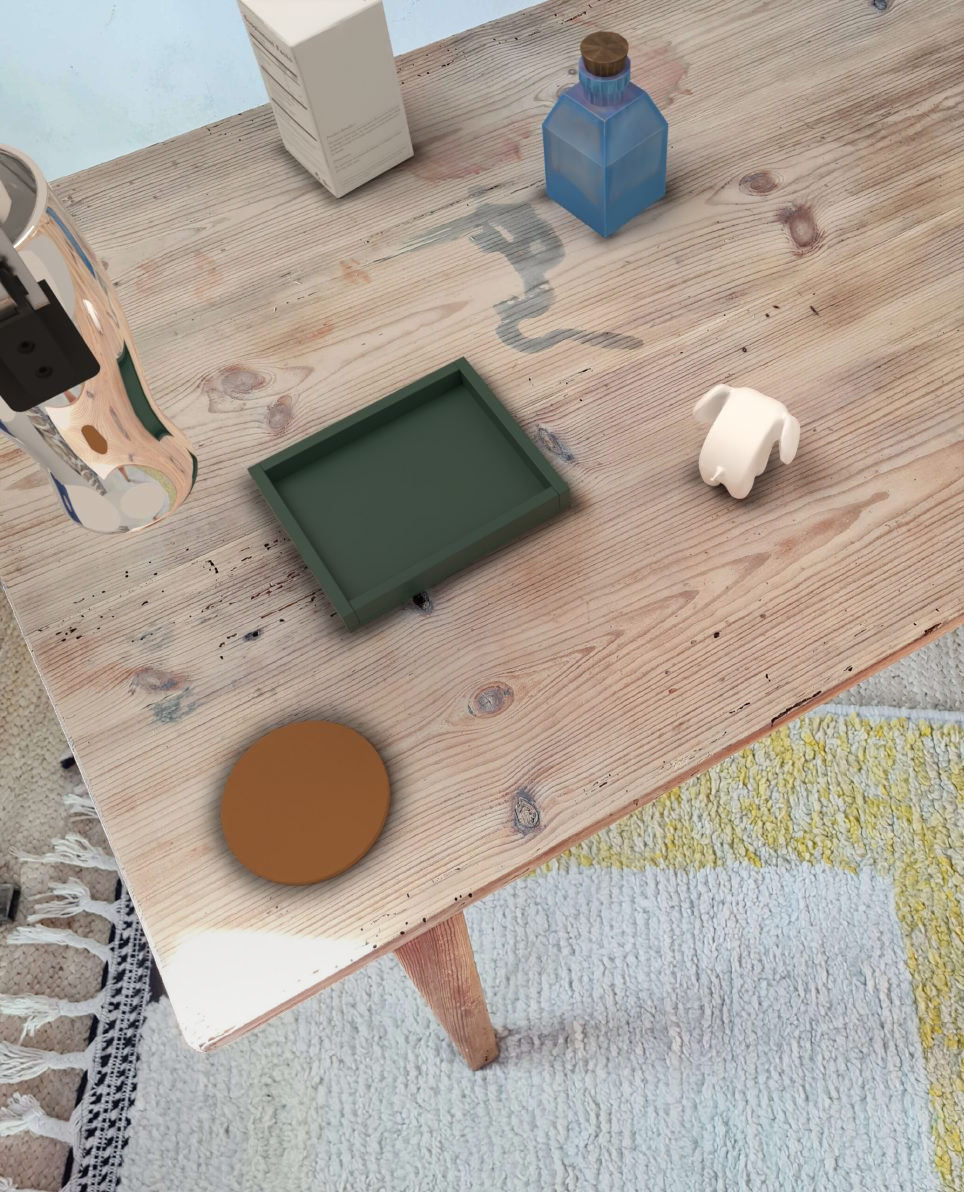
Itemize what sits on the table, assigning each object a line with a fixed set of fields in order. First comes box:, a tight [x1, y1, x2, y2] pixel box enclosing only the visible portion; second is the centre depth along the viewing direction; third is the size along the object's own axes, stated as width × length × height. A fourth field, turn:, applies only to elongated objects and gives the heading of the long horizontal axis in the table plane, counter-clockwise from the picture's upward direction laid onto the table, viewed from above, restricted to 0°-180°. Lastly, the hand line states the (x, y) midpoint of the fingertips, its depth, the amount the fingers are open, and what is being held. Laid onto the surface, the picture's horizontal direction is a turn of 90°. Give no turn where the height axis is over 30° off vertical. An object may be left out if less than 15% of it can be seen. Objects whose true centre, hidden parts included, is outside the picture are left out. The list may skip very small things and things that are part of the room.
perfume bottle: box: [541, 30, 669, 239], centre depth 75 cm, size 6×6×12 cm
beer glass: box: [0, 142, 199, 536], centre depth 41 cm, size 7×7×15 cm
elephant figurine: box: [691, 383, 801, 500], centre depth 66 cm, size 7×8×6 cm
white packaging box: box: [236, 0, 415, 199], centre depth 77 cm, size 7×7×13 cm
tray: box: [246, 355, 572, 634], centre depth 67 cm, size 16×13×2 cm
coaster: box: [220, 720, 391, 886], centre depth 58 cm, size 9×9×1 cm
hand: (13, 316), depth 38 cm, fingers closed on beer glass, 7 cm apart
